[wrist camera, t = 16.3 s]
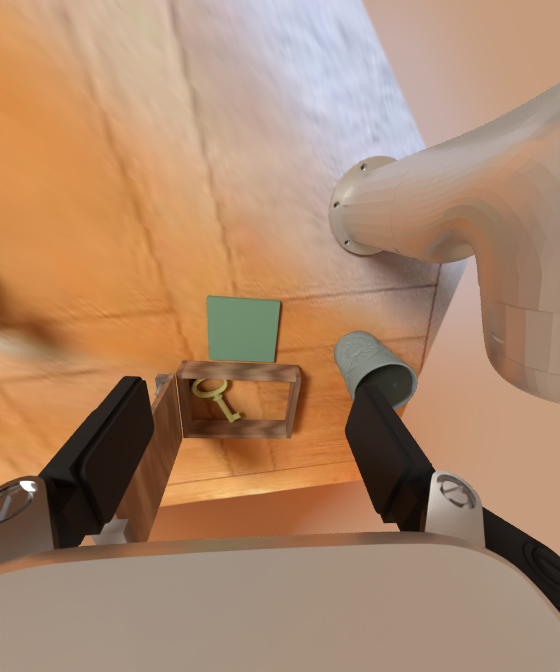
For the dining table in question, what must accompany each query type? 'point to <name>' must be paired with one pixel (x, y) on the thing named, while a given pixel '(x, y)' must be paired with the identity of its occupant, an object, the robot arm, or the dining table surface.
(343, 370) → the grey-blue cup
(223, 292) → the dining table surface
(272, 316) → the pad
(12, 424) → the dining table surface
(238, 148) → the dining table surface
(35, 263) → the dining table surface
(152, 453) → the case
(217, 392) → the key
